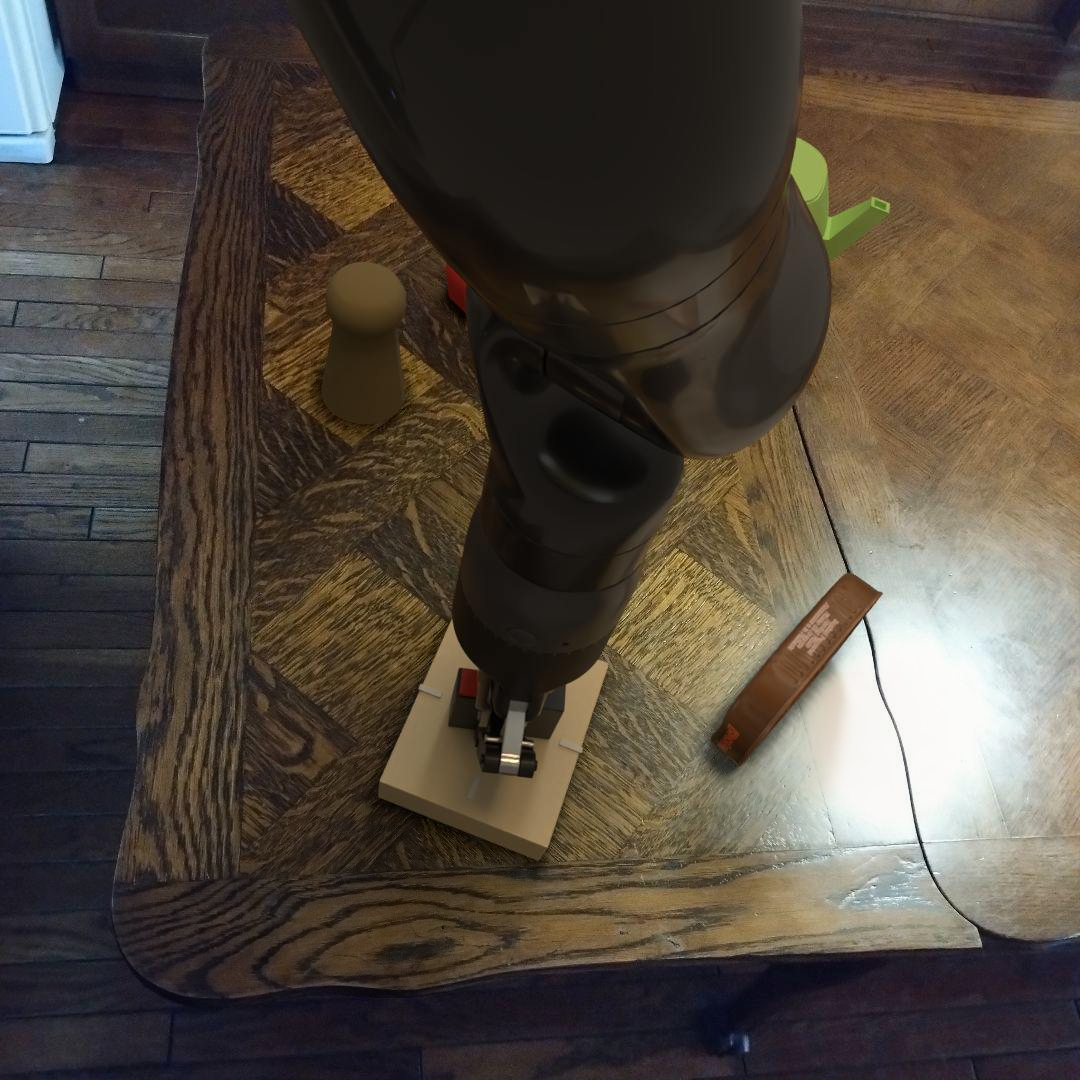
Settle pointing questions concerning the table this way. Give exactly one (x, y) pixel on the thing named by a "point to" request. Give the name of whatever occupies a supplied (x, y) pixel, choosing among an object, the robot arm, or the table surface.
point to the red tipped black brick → (466, 712)
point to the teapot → (815, 192)
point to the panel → (454, 771)
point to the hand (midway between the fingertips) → (494, 717)
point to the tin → (793, 667)
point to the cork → (364, 344)
